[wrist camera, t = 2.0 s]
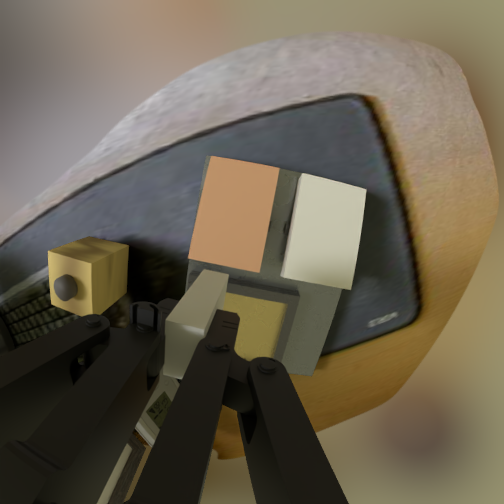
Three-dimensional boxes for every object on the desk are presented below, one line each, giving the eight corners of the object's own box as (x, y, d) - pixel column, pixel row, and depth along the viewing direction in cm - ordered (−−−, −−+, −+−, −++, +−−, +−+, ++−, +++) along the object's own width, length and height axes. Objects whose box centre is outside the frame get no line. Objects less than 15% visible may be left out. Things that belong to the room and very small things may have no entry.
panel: (183, 346, 32) (175, 362, 29) (210, 157, 27) (203, 153, 24) (308, 369, 32) (312, 386, 29) (360, 189, 27) (372, 190, 24)
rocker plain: (280, 275, 25) (283, 277, 23) (298, 180, 25) (302, 173, 23) (342, 287, 25) (350, 289, 23) (356, 195, 25) (366, 189, 23)
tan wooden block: (88, 281, 31) (44, 308, 22) (89, 236, 30) (40, 253, 21) (126, 292, 31) (86, 325, 22) (129, 245, 30) (84, 267, 21)
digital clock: (206, 422, 36) (195, 467, 27) (160, 420, 36) (143, 460, 28) (181, 350, 33) (158, 396, 24) (130, 351, 33) (100, 390, 24)
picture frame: (146, 448, 39) (111, 532, 18) (138, 447, 39) (102, 529, 19) (97, 387, 36) (34, 475, 15) (90, 387, 36) (27, 471, 15)
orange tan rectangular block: (193, 258, 25) (188, 258, 23) (214, 164, 25) (211, 155, 23) (258, 271, 25) (259, 272, 23) (277, 176, 25) (279, 168, 23)
